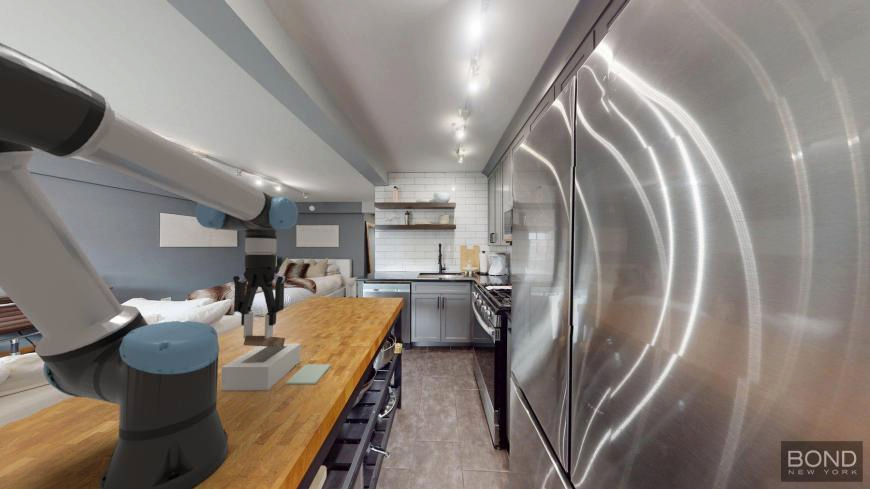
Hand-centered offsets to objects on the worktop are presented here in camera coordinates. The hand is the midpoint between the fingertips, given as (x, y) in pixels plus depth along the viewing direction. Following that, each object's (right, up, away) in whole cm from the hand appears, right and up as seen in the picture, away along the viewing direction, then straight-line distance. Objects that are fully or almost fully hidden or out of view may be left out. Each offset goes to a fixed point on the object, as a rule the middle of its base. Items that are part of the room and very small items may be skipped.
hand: (258, 336), depth 77 cm
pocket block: (0, -12, +3) cm, 13 cm away
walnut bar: (0, -4, +3) cm, 5 cm away
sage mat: (+13, -12, +4) cm, 18 cm away
